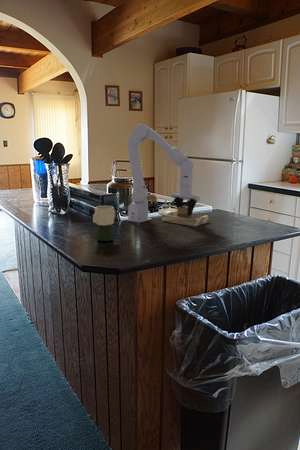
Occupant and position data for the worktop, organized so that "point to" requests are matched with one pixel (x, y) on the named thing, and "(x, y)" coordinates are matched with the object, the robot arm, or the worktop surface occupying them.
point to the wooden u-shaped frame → (183, 219)
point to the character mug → (104, 222)
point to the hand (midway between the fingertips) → (184, 214)
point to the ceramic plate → (166, 210)
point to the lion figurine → (152, 198)
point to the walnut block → (183, 212)
